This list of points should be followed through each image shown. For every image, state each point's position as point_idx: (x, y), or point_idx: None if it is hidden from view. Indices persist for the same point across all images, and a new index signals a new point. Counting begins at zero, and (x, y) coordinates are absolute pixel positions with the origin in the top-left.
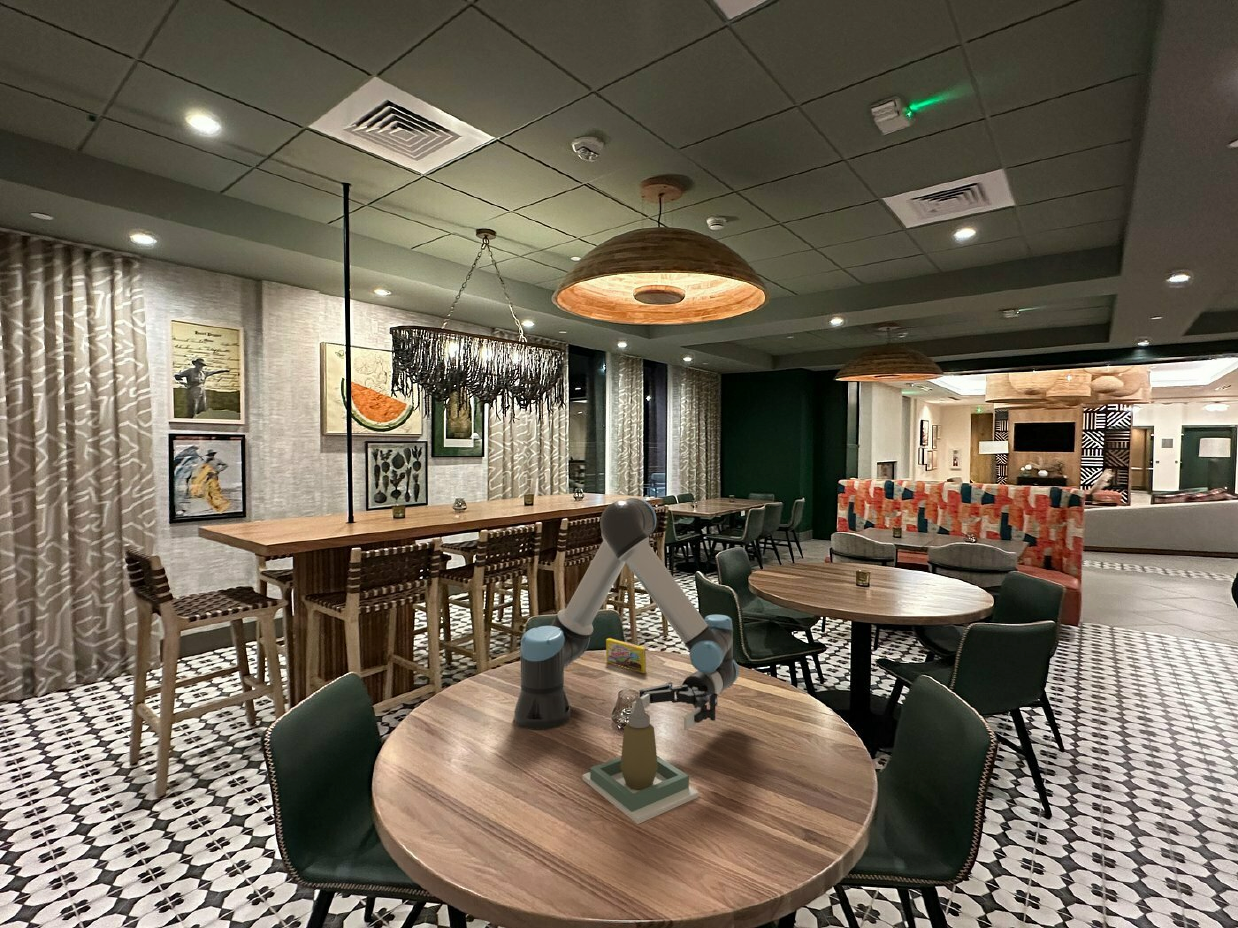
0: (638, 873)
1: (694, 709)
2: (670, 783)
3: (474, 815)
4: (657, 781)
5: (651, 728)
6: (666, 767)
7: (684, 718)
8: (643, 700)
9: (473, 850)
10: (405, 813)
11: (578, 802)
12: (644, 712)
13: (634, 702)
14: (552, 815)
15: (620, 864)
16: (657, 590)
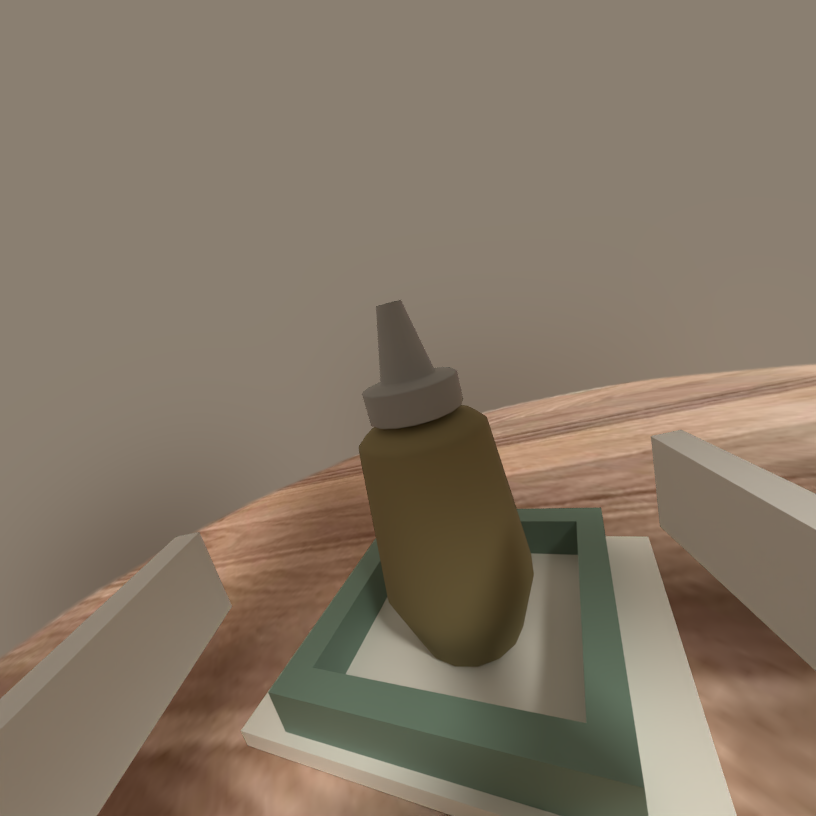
0: (331, 497)
1: (33, 697)
2: (328, 607)
3: (620, 418)
4: (421, 677)
5: (366, 442)
6: (385, 683)
7: (199, 542)
8: (779, 538)
9: (535, 416)
10: (681, 383)
11: (540, 507)
12: (380, 368)
13: (679, 440)
14: (535, 471)
15: (361, 491)
16: None
